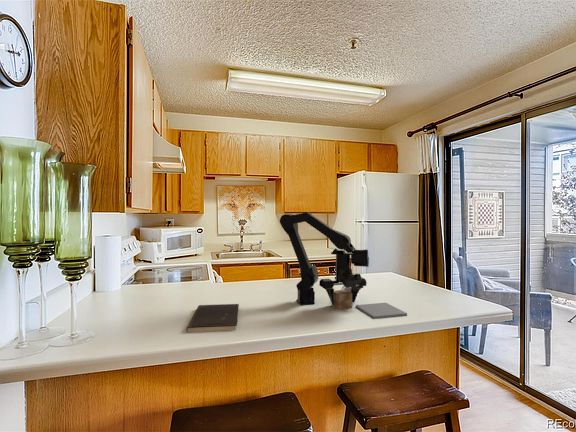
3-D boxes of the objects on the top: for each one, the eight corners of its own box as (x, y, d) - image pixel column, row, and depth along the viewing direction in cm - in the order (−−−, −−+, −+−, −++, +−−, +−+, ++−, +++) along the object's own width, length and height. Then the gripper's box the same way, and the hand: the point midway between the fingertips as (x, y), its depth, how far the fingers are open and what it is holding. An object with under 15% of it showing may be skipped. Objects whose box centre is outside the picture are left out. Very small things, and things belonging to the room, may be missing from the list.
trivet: (374, 318, 112) (374, 316, 112) (355, 307, 125) (355, 305, 125) (407, 315, 115) (407, 313, 115) (385, 304, 129) (385, 302, 129)
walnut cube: (339, 309, 122) (339, 294, 122) (331, 305, 128) (331, 291, 127) (352, 307, 124) (352, 293, 124) (344, 303, 130) (344, 289, 130)
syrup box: (350, 295, 144) (348, 304, 130) (342, 285, 145) (338, 293, 131) (360, 287, 142) (358, 296, 128) (351, 277, 143) (348, 285, 130)
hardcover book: (238, 309, 123) (238, 303, 123) (236, 331, 100) (236, 324, 100) (197, 311, 121) (197, 305, 121) (186, 334, 98) (186, 326, 98)
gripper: (329, 270, 115) (329, 311, 115) (373, 267, 120) (373, 307, 120) (318, 265, 126) (319, 303, 126) (359, 263, 131) (359, 299, 131)
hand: (343, 303), depth 126 cm, fingers open, 9 cm apart
